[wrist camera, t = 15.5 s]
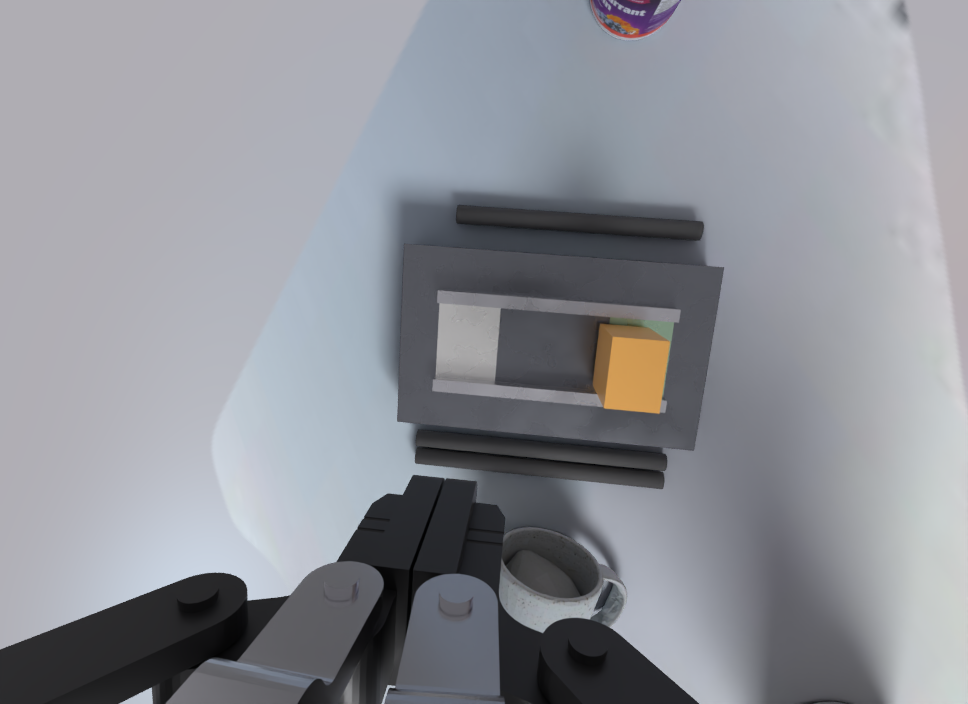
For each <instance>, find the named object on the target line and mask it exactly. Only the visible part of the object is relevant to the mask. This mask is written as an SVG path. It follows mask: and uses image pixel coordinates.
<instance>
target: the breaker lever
mask: <svg viewBox="0 0 968 704" xmlns="http://www.w3.org/2000/svg"><path fill="white" fill-rule="evenodd" d="M669 346H670V341H669V340H667V339H665V338H664V337H662V336H661V335H659V334H658V333H656V332H655V331H653V330H651V329H650V328H648V327H636V326H624V325H612V324H600V326H599V335H598V343H597V351H596V360H595V368H594V377H593V387H594V389H595V391H596V393H597V395H598V397H599V399H600V401H601V404H602V406H603V408H605V409H615V410H626V411H637V412H647V413H658V414H660V407H661V400H662V393H663V387H664V380H665V373H666V367H667V360H668V353H669Z"/></svg>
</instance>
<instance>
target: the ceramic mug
mask: <svg viewBox="0 0 968 704" xmlns="http://www.w3.org/2000/svg"><path fill="white" fill-rule="evenodd" d="M603 580H606V581H609V582H612V583H613V586H612V590H611V592H610V594H609V596H608V598H607V600H606V603H605V605H604V606H603V607H602V610H601V611H599V612H598V613H597V614H596V615H594V616H592V613H593V611H594V608H595V606H596V603H597V601H598V598H599V596H600V594H601V590H602V586H603ZM499 598H500V602H501V604H502V606H503V607H504V609H505V610H506V612H507V613H508V614H509V615H510V616H511V617H512V618H514V619H515V620H516V621H518V622H519V623H521V624H523V625H525V626H527V627H529V628H531V629H534V630H536V631H539V632H542V633H543V632H544V631H545V629H546V628H547V627H548V626H549V625H551V624H552V623H554V622H556V621H558V620H561V619H566V618H585V619H590V620H593V621H596V622H599V623H601V624H604V625H606V626H608V627H609V628H610V627H611V626H612V625H613V624H614V623H615V622H616V621H617V619H618V618H619V617H620V615H621V613H622V612H623V609H624V607H625V604H626V601H627V590H626V587H625V586H624V584H623V582H622V581H621V580H620V579H619V577H618V576H617V575H616V573H615V572H614V571H613V570H612V569H610V568H609V567H607V566H605V565H601V564H598V562H597V560H596V559H595V558H594V556H593V555H592V554H591V553H590V552H589V551H588V550H587V549H585V548H584V547H583V546H582V545H580V544H579V543H577V542H576V541H575V540H573V539H571V538H569V537H567V536H565V535H563V534H560V533H557V532H554V531H551V530H548V529H543V528H537V527H523V528H517V529H514V530H511V531H509V532H507V533H506V534H505V535H504V537H503V549H502V560H501V572H500V584H499ZM591 616H592V617H591Z"/></svg>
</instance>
